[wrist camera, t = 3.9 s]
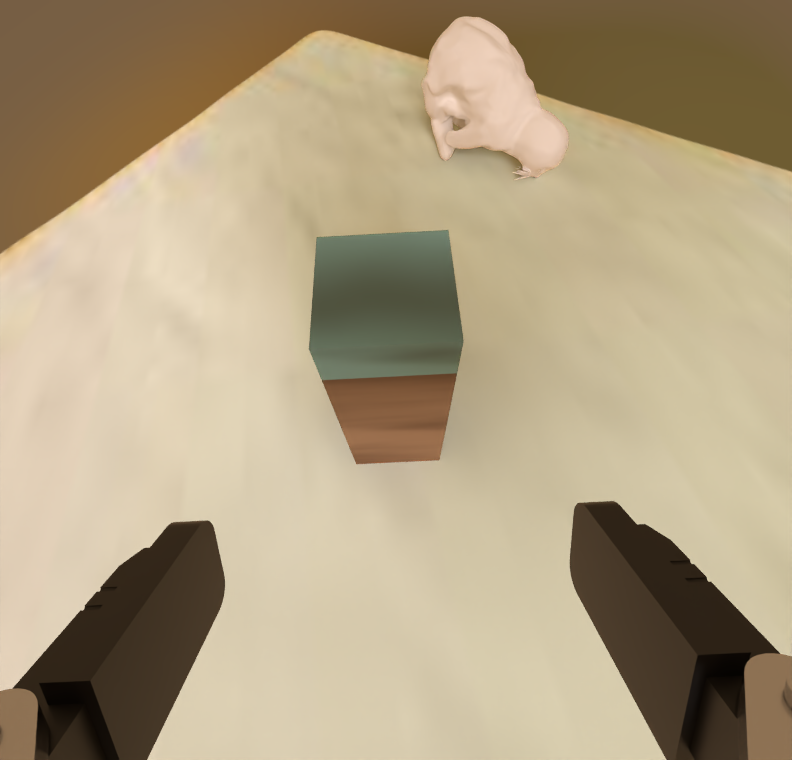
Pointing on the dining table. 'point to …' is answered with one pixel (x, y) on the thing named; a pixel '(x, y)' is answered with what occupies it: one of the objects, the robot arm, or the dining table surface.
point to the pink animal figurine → (488, 99)
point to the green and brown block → (387, 340)
